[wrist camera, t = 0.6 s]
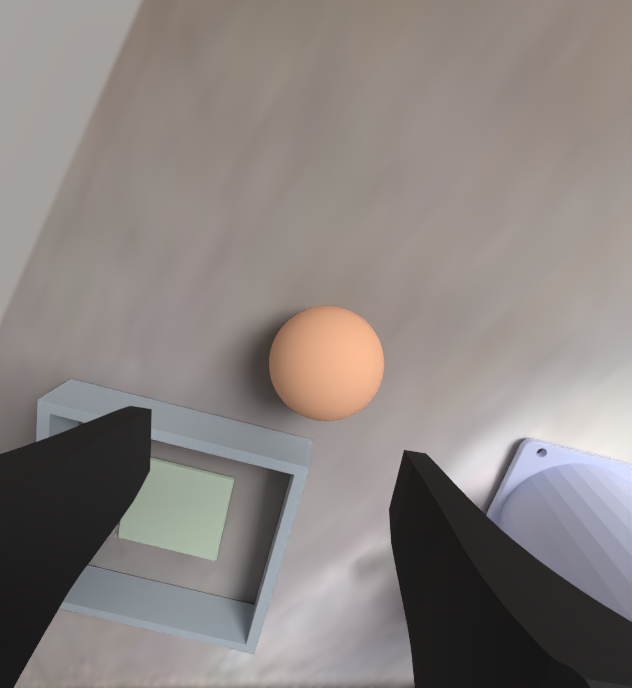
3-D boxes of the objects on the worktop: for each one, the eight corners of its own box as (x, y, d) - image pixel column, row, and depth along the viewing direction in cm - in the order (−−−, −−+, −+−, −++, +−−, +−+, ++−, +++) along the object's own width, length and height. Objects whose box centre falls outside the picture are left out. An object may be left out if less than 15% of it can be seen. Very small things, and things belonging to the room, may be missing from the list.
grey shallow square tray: (312, 439, 22) (309, 467, 20) (261, 613, 26) (254, 654, 24) (70, 378, 21) (37, 399, 19) (58, 565, 26) (29, 601, 23)
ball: (391, 310, 19) (408, 342, 15) (361, 401, 21) (369, 456, 16) (290, 283, 19) (275, 307, 15) (268, 377, 21) (247, 426, 16)
